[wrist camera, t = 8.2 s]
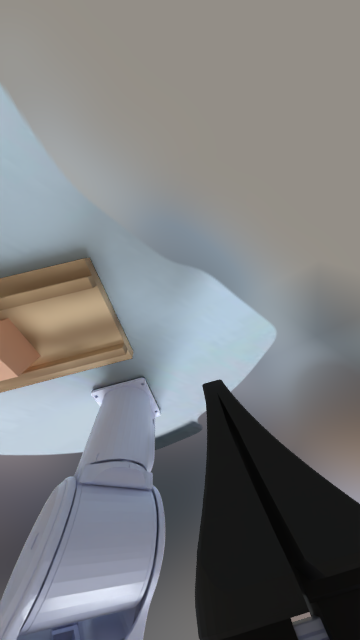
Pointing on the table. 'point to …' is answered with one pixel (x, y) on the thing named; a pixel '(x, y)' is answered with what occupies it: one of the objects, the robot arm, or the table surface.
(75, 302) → the oak channel board
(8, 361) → the peach pink cube
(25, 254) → the table surface
